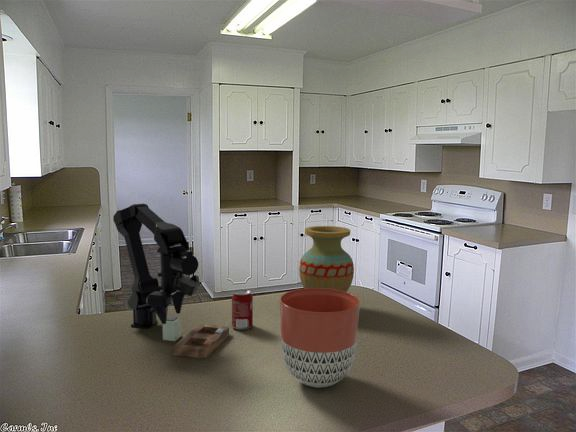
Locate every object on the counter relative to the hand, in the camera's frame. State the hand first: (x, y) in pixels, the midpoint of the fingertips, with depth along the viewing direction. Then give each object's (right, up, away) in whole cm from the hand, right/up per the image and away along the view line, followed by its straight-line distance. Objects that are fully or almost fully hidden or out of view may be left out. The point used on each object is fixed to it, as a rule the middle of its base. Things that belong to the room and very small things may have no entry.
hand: (171, 318), depth 141 cm
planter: (+43, -10, -25) cm, 51 cm away
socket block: (+10, -7, -4) cm, 13 cm away
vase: (+49, -3, +28) cm, 57 cm away
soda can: (+21, -5, +10) cm, 24 cm away
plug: (0, -6, +1) cm, 6 cm away
